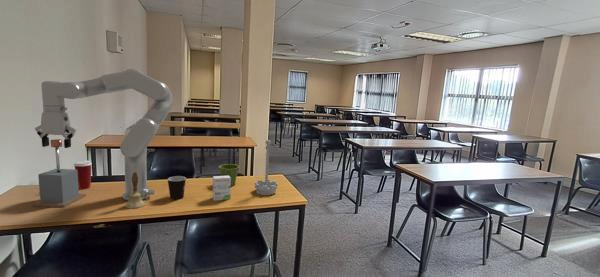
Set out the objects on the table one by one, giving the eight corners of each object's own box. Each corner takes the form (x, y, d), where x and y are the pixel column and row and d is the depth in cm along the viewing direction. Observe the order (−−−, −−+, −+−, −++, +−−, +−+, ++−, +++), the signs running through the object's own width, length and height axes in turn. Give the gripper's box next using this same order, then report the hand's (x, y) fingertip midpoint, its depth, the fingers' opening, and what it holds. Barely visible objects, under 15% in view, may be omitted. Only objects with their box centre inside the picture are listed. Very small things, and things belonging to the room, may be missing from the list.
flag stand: (280, 194, 166) (283, 141, 161) (257, 196, 161) (259, 142, 156) (273, 187, 178) (276, 138, 173) (252, 188, 173) (254, 138, 168)
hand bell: (140, 200, 146) (139, 169, 143) (148, 205, 140) (147, 173, 138) (122, 205, 139) (120, 172, 137) (129, 210, 134) (128, 176, 131)
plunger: (71, 177, 141) (69, 139, 138) (60, 181, 135) (58, 141, 132) (57, 176, 141) (54, 138, 138) (45, 181, 134) (42, 140, 131)
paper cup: (96, 186, 162) (95, 161, 159) (85, 190, 154) (83, 164, 152) (83, 184, 162) (81, 159, 160) (71, 189, 155) (69, 163, 153)
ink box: (228, 196, 159) (229, 175, 157) (230, 199, 154) (231, 177, 152) (212, 197, 155) (212, 175, 154) (213, 201, 151) (213, 178, 149)
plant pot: (233, 180, 186) (233, 163, 184) (242, 185, 177) (243, 167, 175) (215, 183, 178) (215, 165, 176) (223, 189, 169) (224, 170, 168)
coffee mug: (179, 201, 148) (179, 182, 146) (164, 199, 149) (163, 179, 148) (192, 193, 159) (192, 175, 157) (177, 191, 161) (177, 173, 159)
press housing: (85, 196, 147) (84, 168, 144) (64, 207, 133) (62, 177, 131) (56, 194, 146) (54, 167, 144) (32, 205, 132) (29, 175, 130)
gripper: (80, 109, 137) (81, 146, 139) (41, 107, 136) (44, 144, 139) (67, 111, 129) (70, 149, 132) (26, 108, 129) (30, 147, 131)
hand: (56, 146), depth 135 cm, fingers open, 9 cm apart
